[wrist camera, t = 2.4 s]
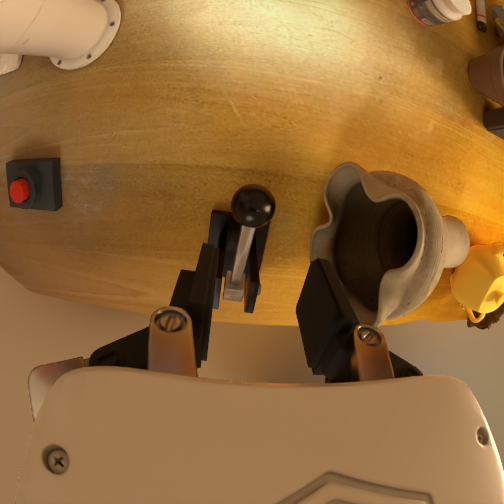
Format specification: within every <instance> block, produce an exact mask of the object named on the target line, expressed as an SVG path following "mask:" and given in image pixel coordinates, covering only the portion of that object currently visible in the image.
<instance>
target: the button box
mask: <svg viewBox="0 0 504 504" xmlns="http://www.w3.org/2000/svg"><path fill="white" fill-rule="evenodd" d="M6 172H7V184H8V193H9V201H10V207H17V208H22V209H38V210H48V211H56V210H58V209H59V208H61V207H62V195H61V180H60V158H41V159H21V160H12V161H10V162H8V163H6ZM20 178H24V179H25V180H26V181H27V182H28V185H29V189H30V194H29V197H28V198H27V199H26V200H24V201H23V202H21V203H15V202H14V201H13V199H12V198H11V195H10V186H11V184H12V183H13V182H14V181H16V180H18V179H20Z"/></svg>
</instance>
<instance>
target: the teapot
mask: <svg viewBox="0 0 504 504" xmlns="http://www.w3.org/2000/svg"><path fill="white" fill-rule="evenodd" d="M503 253H504V243H501V242H495V243H493V244H491V245H486V244H480V245H474V246H471V247H470V248H469V252H468V254H467V257H466V259H465V260H464V261H463V263H461V264H459V265H458V266H457V267H456V269H455V271H454V273H452V275H451V276H450V281H451V283H450V284H451V292H452V295H453V296H454V298H455V299H456V300H457V301H459V307H460V309H462V310H465V309H466V311H467V314H468V317H469V319H470V320H471V321H472V322H474V323H477V322H480V321H481V320H482V319H483V318H484V316H485V314H486V313H489V312H492V311H494V310H496V309H497V308H498V307H499V306H500V305H501V304H502V303H503V302H504V257H503V256H502V254H503ZM463 305H464V307H463ZM472 310H474V311H476V312H479V313H481V314H480V316H479V317H478V318H477V319H476V318H475V317H474V315H473V312H472Z"/></svg>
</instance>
